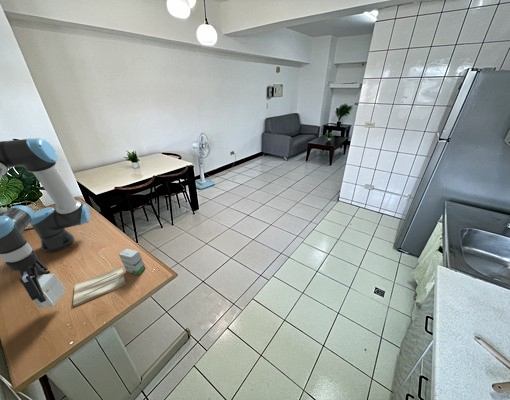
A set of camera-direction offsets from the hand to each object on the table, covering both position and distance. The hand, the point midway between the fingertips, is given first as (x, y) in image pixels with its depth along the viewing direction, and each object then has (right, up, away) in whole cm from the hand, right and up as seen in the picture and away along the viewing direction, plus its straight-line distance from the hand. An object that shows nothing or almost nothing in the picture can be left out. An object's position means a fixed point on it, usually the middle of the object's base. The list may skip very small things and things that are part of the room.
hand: (49, 295), depth 88 cm
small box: (0, -2, +1) cm, 2 cm away
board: (+11, -1, +14) cm, 18 cm away
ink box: (+23, +3, +22) cm, 32 cm away
